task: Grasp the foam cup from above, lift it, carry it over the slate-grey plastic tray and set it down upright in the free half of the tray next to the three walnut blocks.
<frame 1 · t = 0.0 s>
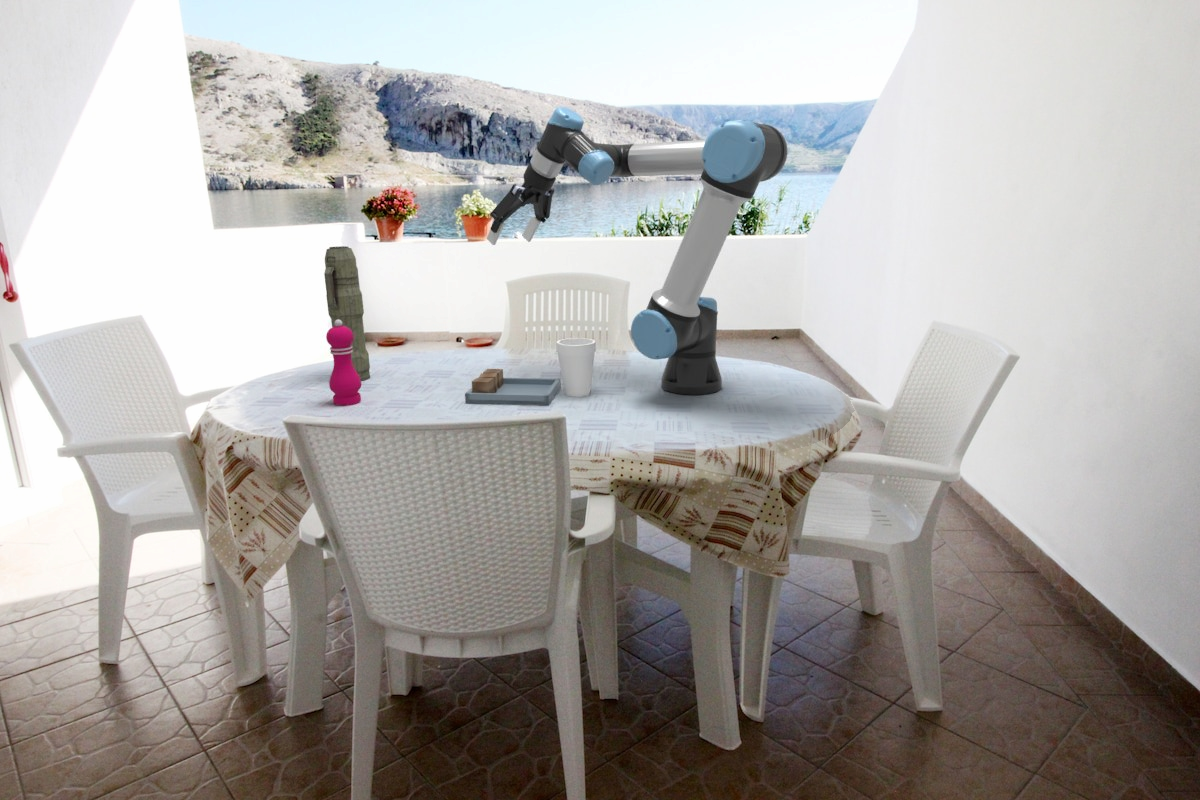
hand: (508, 240, 187), 36 cm above the table, tool tilted 35°, fingers open, 13 cm apart
block b: (489, 390, 176), point 1 cm above the table, touching tray
block a: (493, 386, 180), point 1 cm above the table, touching tray
pepper mill: (347, 402, 171), on the table
tray: (514, 395, 175), on the table
carved stone statue: (353, 379, 193), on the table
block c: (483, 395, 171), point 1 cm above the table, touching tray
foam cup: (577, 394, 176), on the table
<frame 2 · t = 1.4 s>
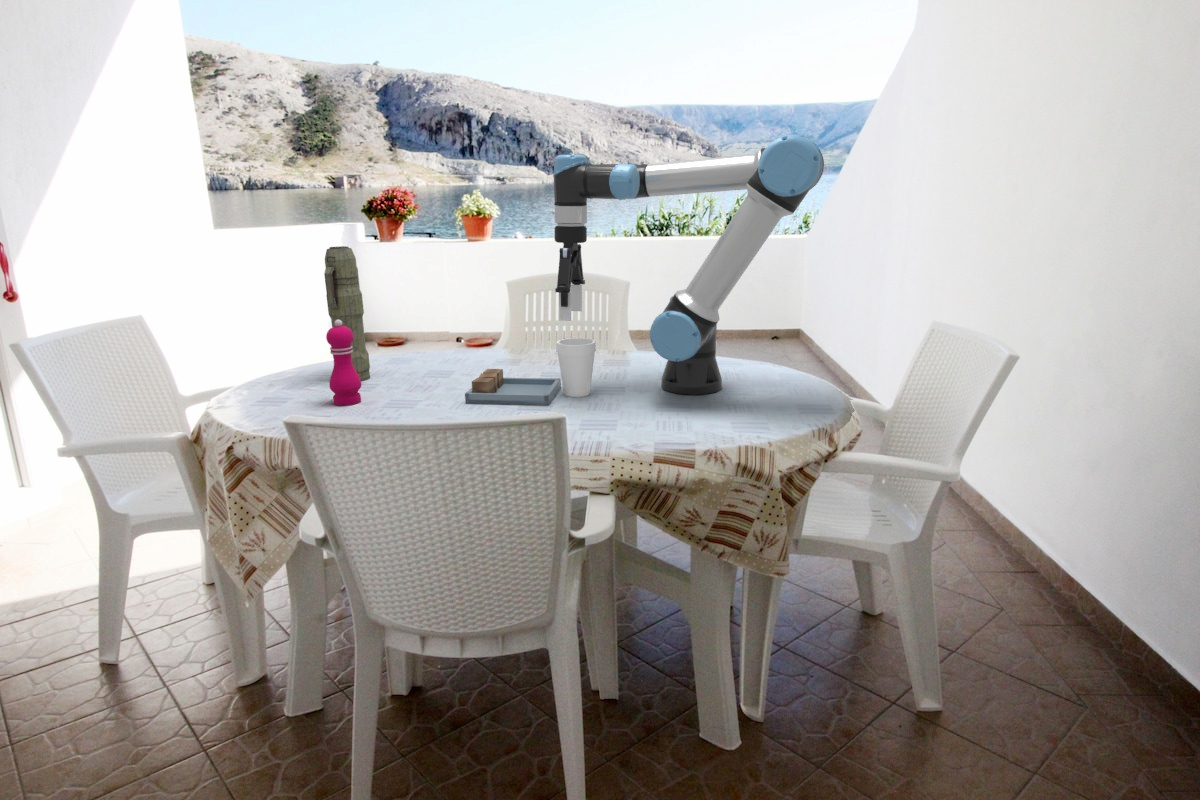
hand: (570, 315, 172), 19 cm above the table, tool pointing down, fingers open, 13 cm apart
nothing on the table moved.
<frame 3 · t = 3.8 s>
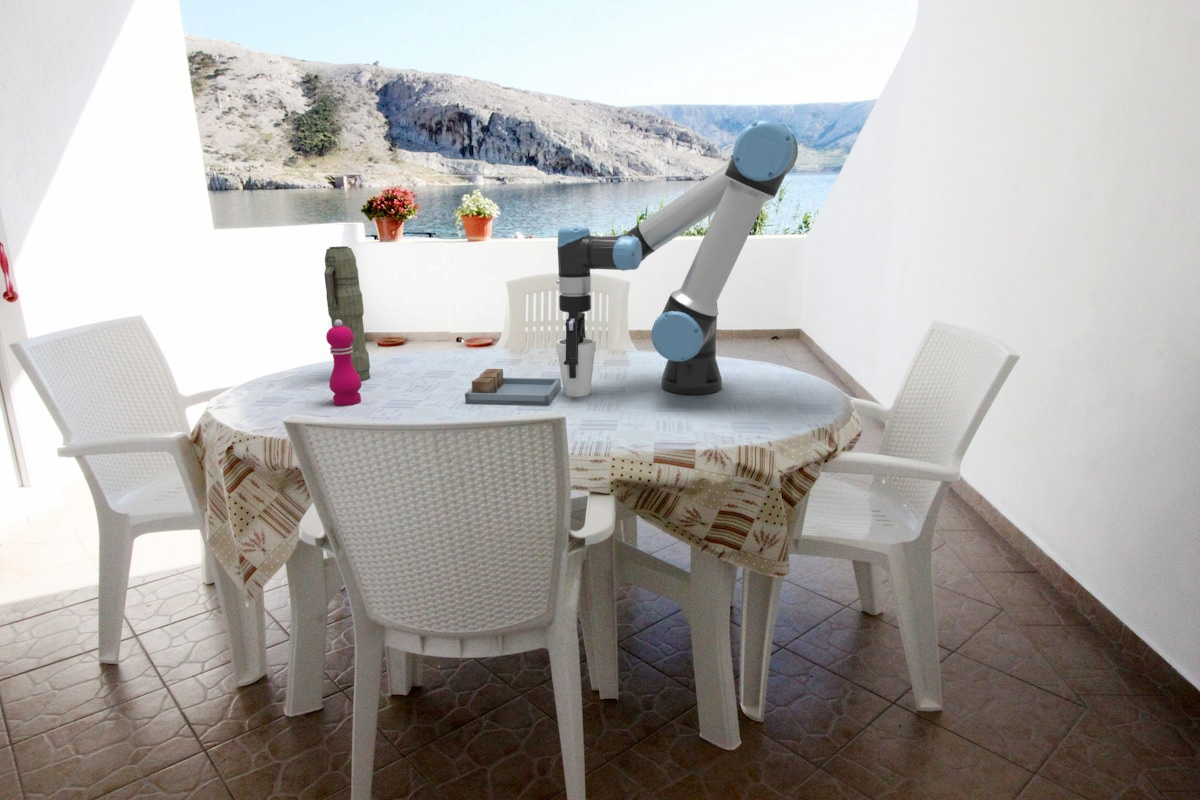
hand: (576, 385, 175), 2 cm above the table, tool pointing down, fingers closed on foam cup, 9 cm apart
foam cup: (577, 394, 176), on the table, touching gripper
everything else where it was.
when the fingers open (5 cm above the table, at t = 8.9 s): foam cup drops 1 cm, resting on tray.
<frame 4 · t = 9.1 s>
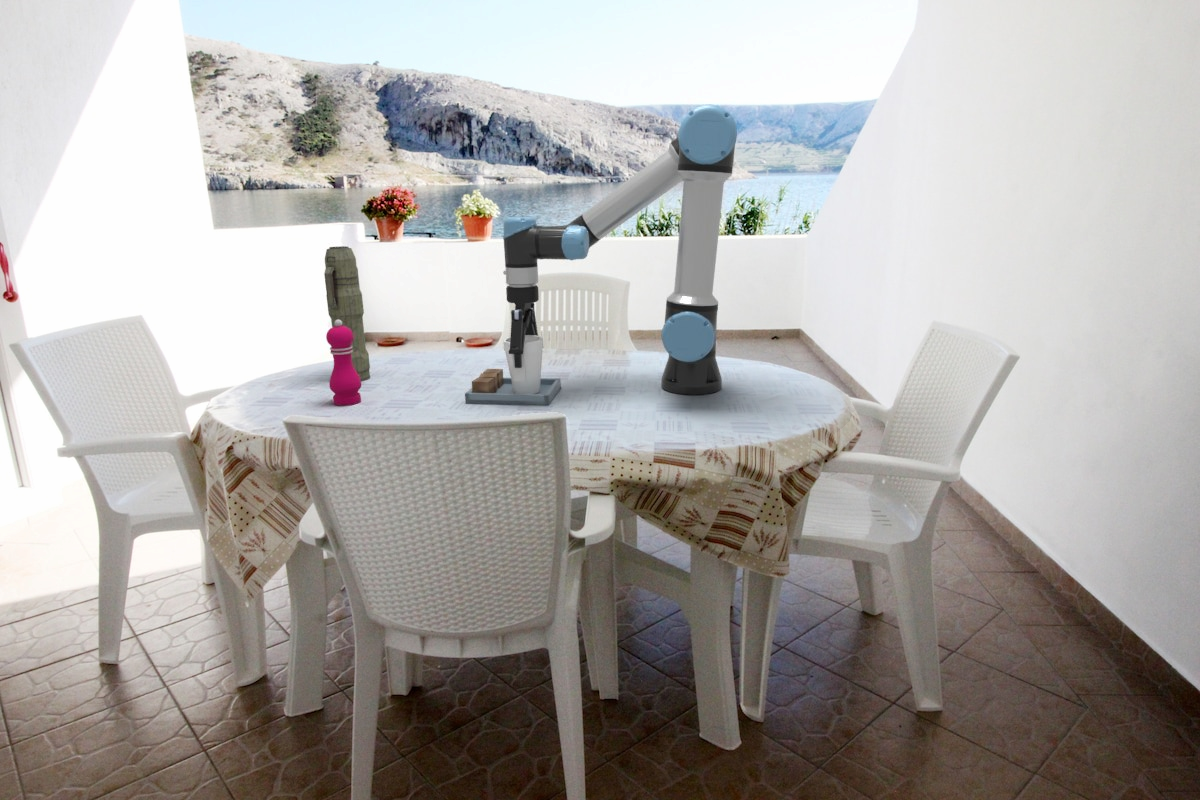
hand: (525, 374, 173), 5 cm above the table, tool pointing down, fingers open, 12 cm apart
foam cup: (526, 392, 174), point 1 cm above the table, touching tray
everything else where it was.
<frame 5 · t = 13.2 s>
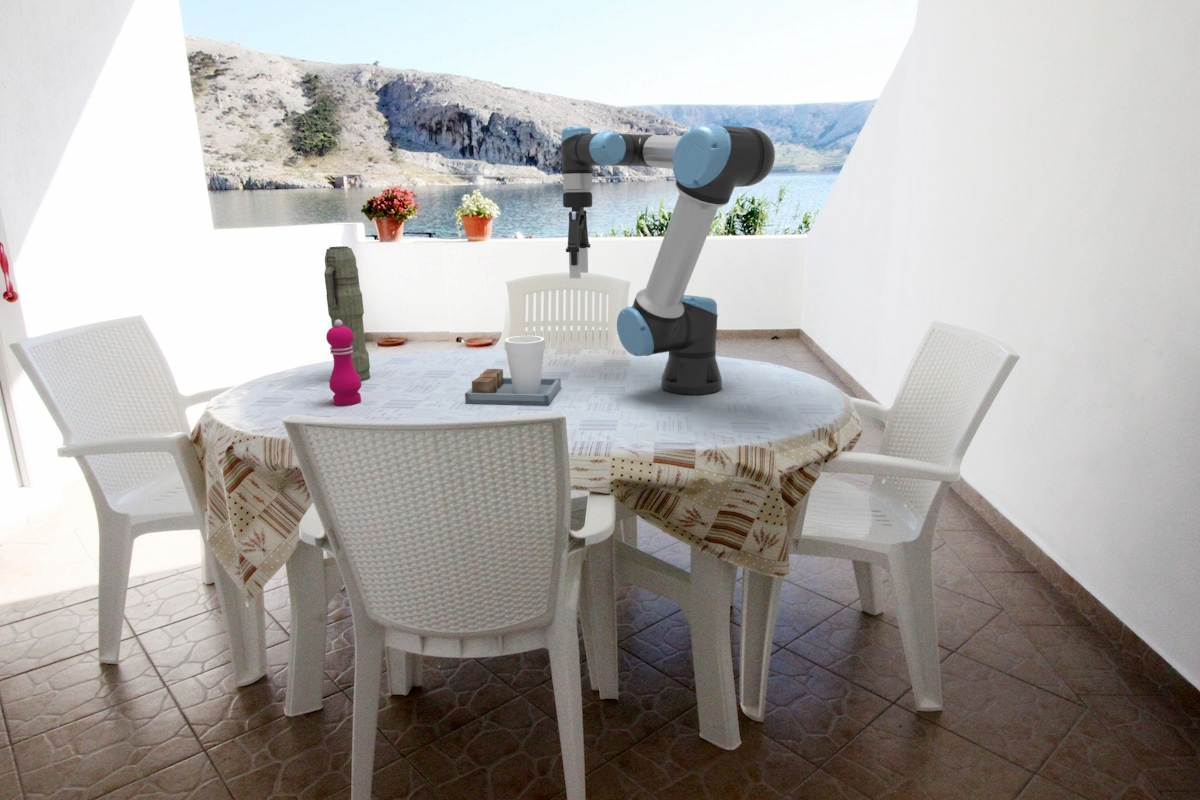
hand: (579, 275, 188), 27 cm above the table, tool pointing down, fingers open, 13 cm apart
nothing on the table moved.
at the end: foam cup inside the target area on the tray (3.0 cm from its centre), point 0.8 cm above the tray's base; foam cup tilted 0°; the gripper is holding nothing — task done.
